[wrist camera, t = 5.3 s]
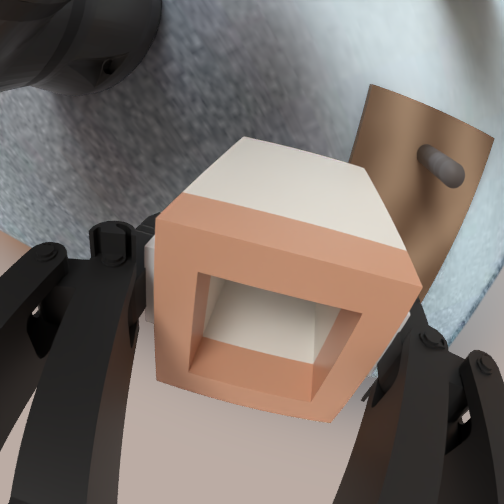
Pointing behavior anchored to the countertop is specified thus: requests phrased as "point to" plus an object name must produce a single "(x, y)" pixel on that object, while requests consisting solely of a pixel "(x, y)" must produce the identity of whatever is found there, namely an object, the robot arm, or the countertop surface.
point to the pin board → (420, 172)
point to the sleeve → (278, 281)
